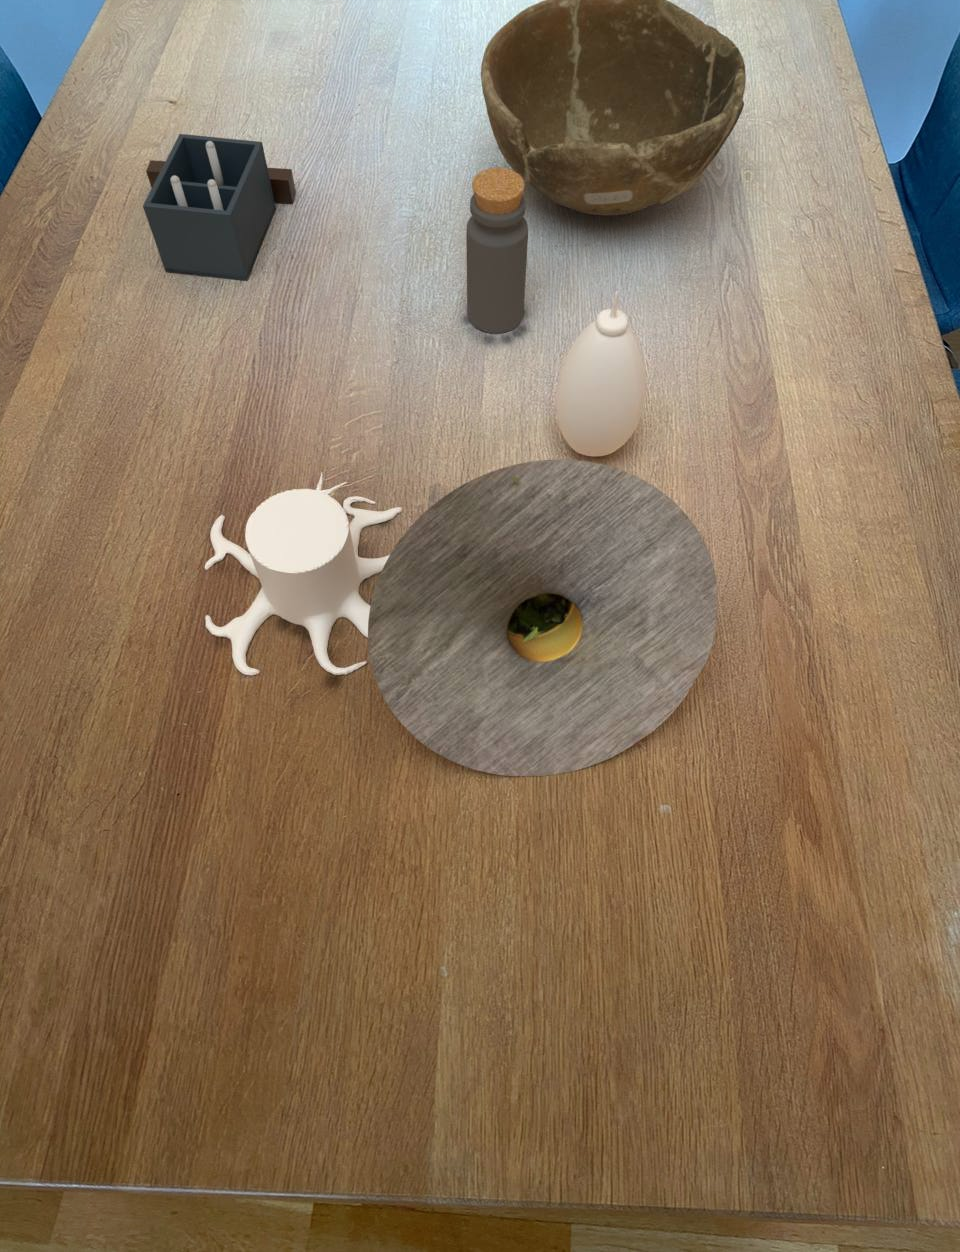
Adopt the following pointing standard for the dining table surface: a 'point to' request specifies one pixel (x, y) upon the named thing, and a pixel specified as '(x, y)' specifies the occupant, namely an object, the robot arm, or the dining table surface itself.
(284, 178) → the rail
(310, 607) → the tree stump
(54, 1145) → the dining table surface
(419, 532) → the grey flared vase
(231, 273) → the cutlery holder
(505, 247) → the bottle
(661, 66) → the bowl
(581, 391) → the sauce bottle
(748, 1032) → the dining table surface
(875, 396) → the dining table surface
